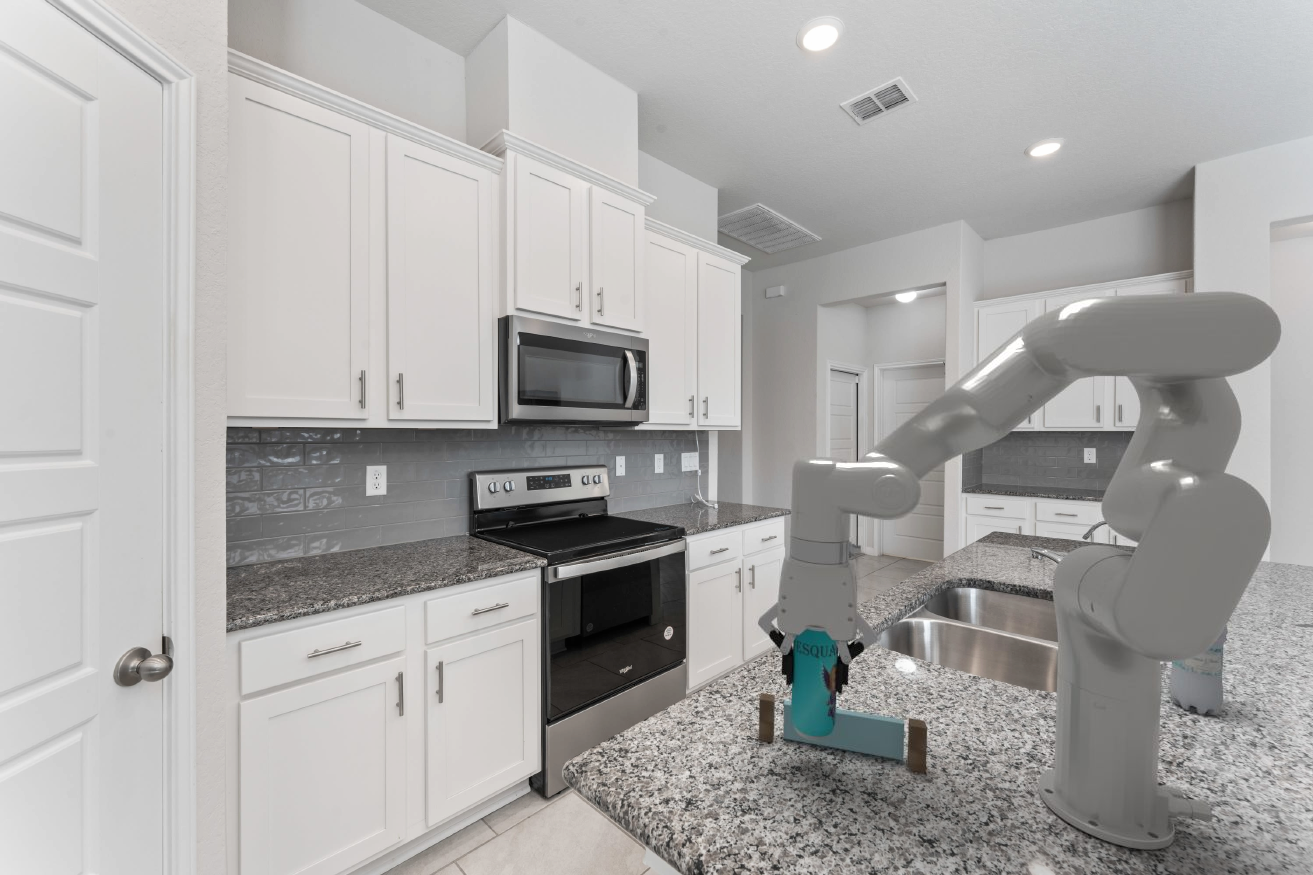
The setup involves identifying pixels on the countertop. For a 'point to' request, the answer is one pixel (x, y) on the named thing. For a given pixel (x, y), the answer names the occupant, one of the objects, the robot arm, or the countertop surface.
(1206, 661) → the bottle
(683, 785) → the countertop surface
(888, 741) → the gate door
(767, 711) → the twin wooden posts
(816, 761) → the countertop surface
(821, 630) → the beverage can
